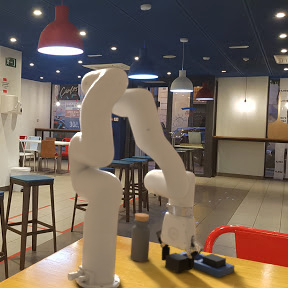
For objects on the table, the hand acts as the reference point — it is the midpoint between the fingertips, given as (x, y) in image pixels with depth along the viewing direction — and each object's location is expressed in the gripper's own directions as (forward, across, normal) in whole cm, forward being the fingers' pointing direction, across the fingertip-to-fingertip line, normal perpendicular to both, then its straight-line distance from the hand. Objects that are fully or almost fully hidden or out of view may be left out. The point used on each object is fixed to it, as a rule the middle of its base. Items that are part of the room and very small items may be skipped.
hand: (177, 264), depth 119 cm
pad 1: (+2, 0, 0) cm, 2 cm away
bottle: (+2, -12, -4) cm, 13 cm away
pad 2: (+2, +7, +10) cm, 12 cm away
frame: (+2, +3, +10) cm, 10 cm away
